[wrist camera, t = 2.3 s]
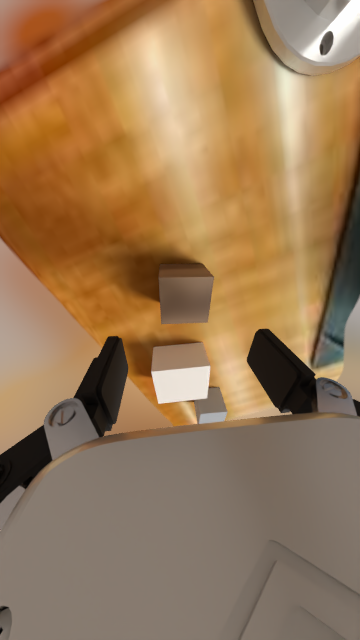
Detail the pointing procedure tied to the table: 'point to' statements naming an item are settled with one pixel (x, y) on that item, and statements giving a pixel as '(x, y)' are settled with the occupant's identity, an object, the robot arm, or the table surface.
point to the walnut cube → (184, 293)
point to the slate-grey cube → (211, 407)
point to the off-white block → (180, 372)
